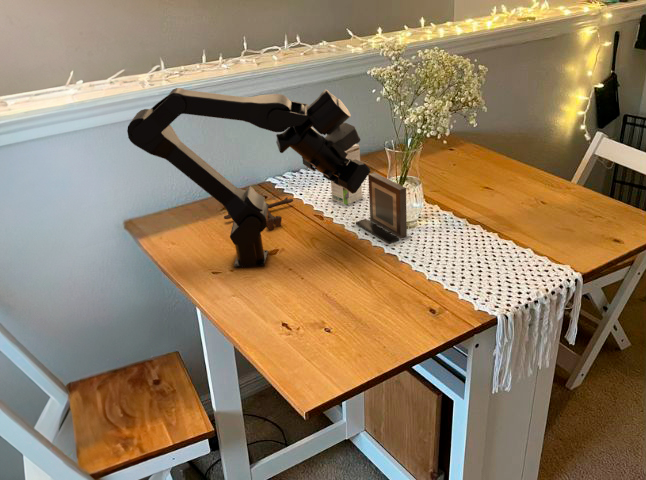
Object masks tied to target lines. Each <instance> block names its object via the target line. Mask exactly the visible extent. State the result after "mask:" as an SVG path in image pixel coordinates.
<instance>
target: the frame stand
mask: <svg viewBox="0 0 646 480" xmlns="http://www.w3.org/2000/svg"><path fill="white" fill-rule="evenodd" d="M355 225H356V226H357V227H360V228H361V229H363V230H365V232H368V233H369V234H371V235H373V236H374V237H376V238H377V239H379V240H381V241H382V242H384V243H386V244H387V245H392V244H394V243H396V242H399V241H400V238H399V237H397V236H396V235H394V234H392V233H390V232H389V231H387V230H385V229H384V228H382V227H380V226H378V225H377V224H375V223H373V222H372V221H370V220H369V219H367V218H362V219H361V220H358V221H355Z"/></svg>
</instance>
